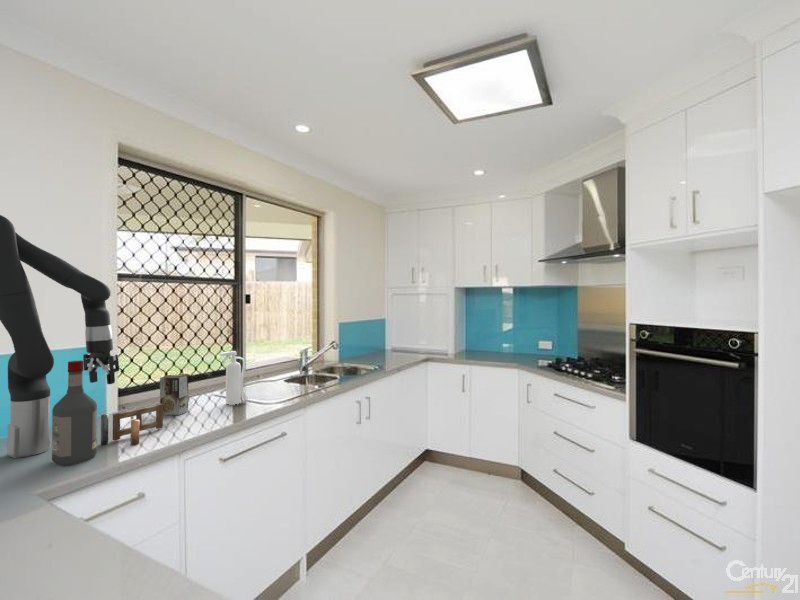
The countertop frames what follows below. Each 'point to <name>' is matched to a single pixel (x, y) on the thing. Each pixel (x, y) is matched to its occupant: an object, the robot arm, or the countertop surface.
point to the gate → (138, 414)
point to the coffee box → (174, 394)
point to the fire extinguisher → (234, 379)
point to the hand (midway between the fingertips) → (102, 382)
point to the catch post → (135, 432)
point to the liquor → (74, 422)
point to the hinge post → (104, 429)
